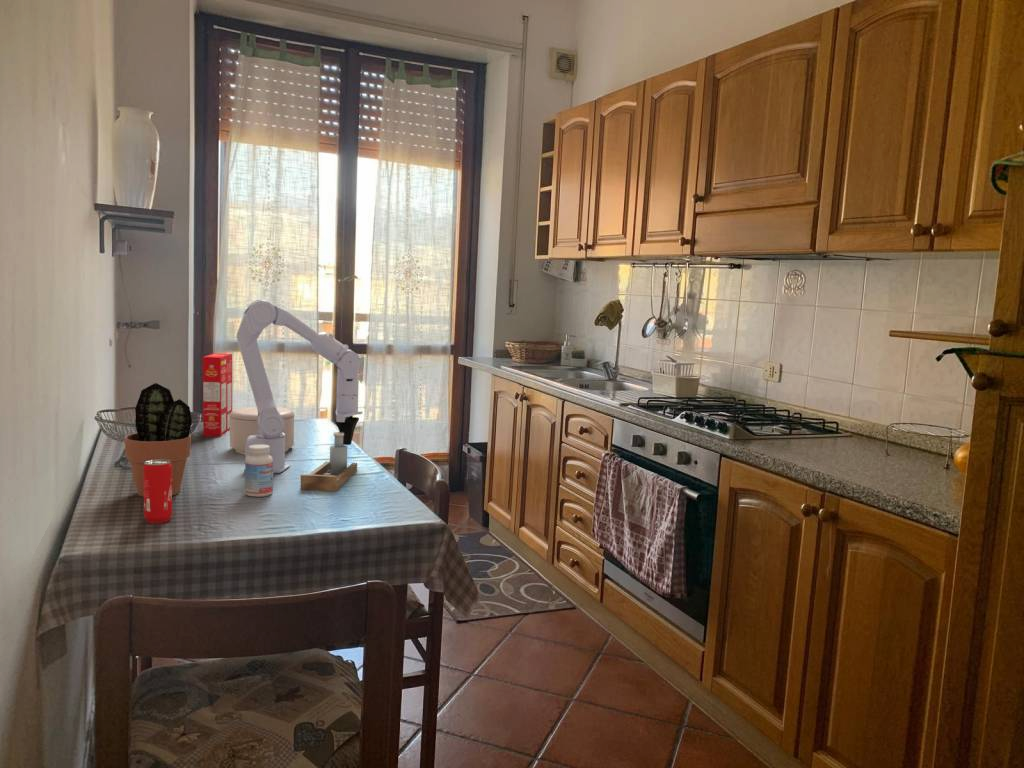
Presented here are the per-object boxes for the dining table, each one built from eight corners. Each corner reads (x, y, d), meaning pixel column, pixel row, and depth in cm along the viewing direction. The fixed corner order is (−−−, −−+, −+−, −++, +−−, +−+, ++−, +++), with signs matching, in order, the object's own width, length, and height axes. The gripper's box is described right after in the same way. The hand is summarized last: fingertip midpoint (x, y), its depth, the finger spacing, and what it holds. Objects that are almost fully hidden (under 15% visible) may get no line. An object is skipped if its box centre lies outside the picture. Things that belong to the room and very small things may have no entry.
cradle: (300, 489, 183) (300, 475, 183) (325, 469, 204) (325, 456, 204) (335, 491, 183) (335, 476, 182) (357, 471, 204) (357, 458, 203)
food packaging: (216, 428, 257) (215, 353, 254) (232, 428, 257) (232, 353, 254) (203, 436, 242) (202, 356, 239) (220, 436, 243) (220, 357, 240)
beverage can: (149, 516, 158) (149, 458, 156) (176, 516, 158) (175, 459, 157) (139, 523, 152) (138, 464, 151) (166, 524, 153) (166, 464, 151)
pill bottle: (264, 498, 174) (264, 449, 173) (239, 496, 175) (239, 447, 174) (277, 492, 180) (278, 444, 179) (253, 489, 181) (254, 442, 180)
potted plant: (126, 503, 166) (124, 388, 163) (124, 487, 178) (123, 380, 175) (194, 497, 173) (193, 386, 170) (188, 483, 185) (187, 379, 182)
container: (302, 453, 224) (303, 413, 222) (239, 458, 213) (239, 416, 212) (283, 441, 238) (283, 404, 237) (222, 446, 228) (222, 407, 227)
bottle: (327, 474, 199) (328, 434, 198) (332, 470, 203) (332, 431, 202) (344, 475, 199) (345, 434, 197) (348, 471, 203) (349, 431, 202)
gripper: (355, 398, 199) (354, 450, 201) (368, 391, 214) (367, 440, 215) (328, 397, 200) (328, 449, 201) (343, 390, 214) (342, 438, 216)
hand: (346, 444), depth 208 cm, fingers closed
